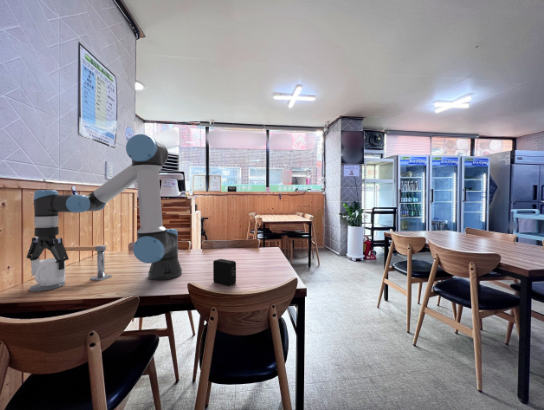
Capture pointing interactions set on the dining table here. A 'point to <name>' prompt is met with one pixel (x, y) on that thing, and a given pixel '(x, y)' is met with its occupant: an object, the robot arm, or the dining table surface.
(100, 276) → the post
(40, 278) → the mug
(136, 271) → the dining table surface
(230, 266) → the electronic device
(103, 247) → the orange-brown wooden bar
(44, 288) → the disc
